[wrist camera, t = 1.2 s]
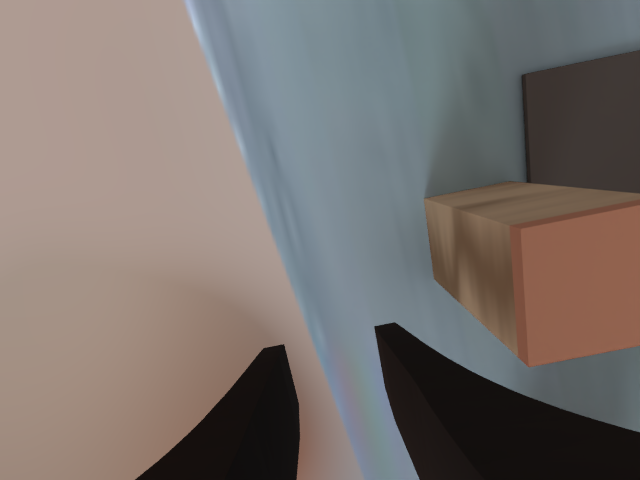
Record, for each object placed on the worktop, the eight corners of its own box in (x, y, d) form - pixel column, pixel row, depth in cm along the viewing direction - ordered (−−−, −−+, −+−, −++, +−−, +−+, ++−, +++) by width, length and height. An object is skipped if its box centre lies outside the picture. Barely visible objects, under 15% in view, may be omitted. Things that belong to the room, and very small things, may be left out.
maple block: (514, 263, 20) (671, 339, 12) (434, 278, 20) (528, 367, 12) (509, 181, 19) (679, 197, 10) (423, 198, 19) (520, 228, 10)
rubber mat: (705, 307, 21) (711, 309, 21) (535, 340, 21) (539, 342, 21) (727, 33, 18) (733, 30, 17) (522, 75, 18) (525, 73, 18)
